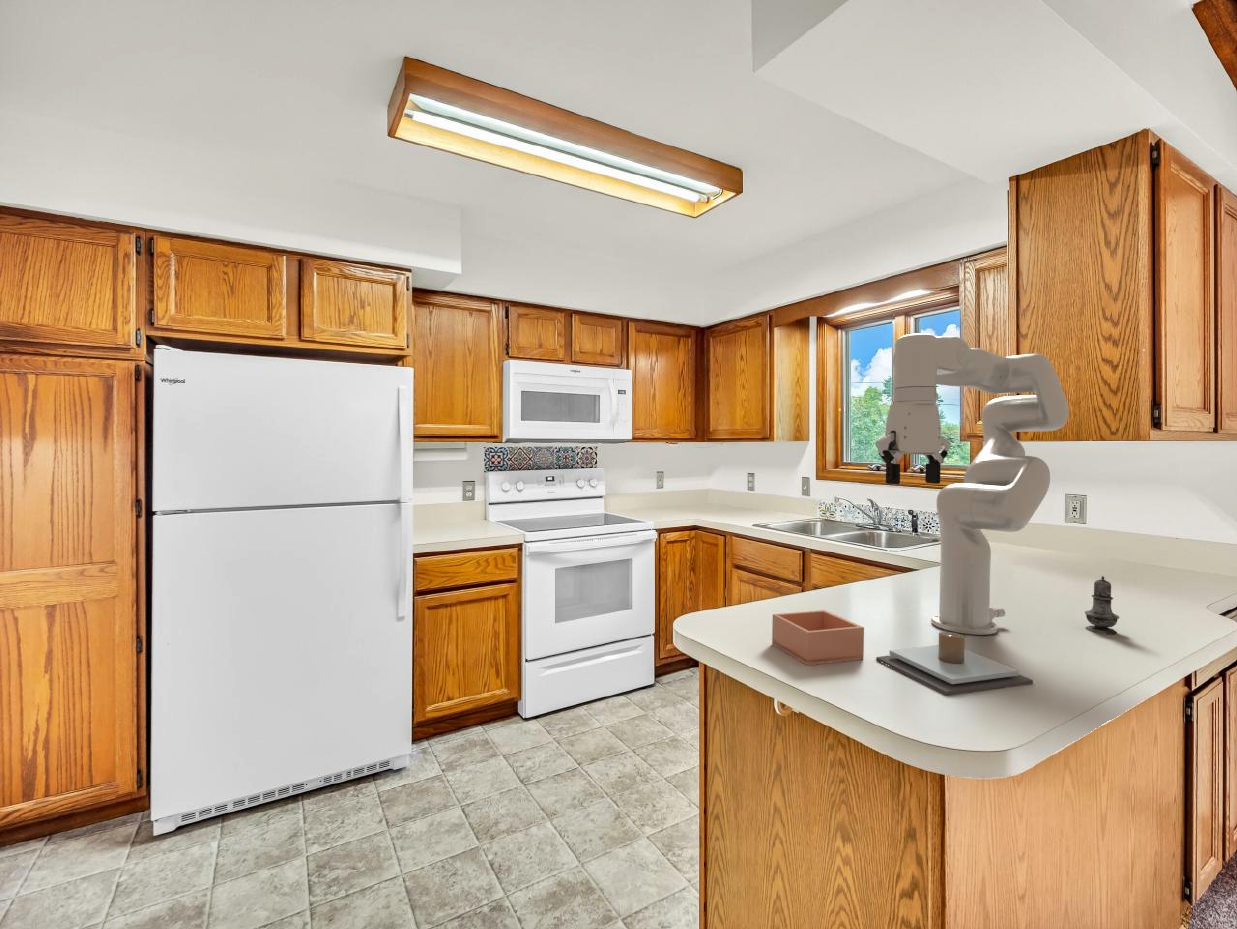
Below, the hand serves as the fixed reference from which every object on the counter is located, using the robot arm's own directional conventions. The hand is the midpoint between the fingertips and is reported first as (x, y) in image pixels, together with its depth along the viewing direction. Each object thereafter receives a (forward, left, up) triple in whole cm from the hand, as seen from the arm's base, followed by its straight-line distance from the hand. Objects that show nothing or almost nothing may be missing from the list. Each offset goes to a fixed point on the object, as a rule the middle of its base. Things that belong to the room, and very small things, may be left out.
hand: (912, 483), depth 117 cm
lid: (+4, +14, -31) cm, 34 cm away
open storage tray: (+21, -1, -32) cm, 39 cm away
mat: (+4, +14, -32) cm, 35 cm away
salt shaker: (-47, +4, -32) cm, 57 cm away
